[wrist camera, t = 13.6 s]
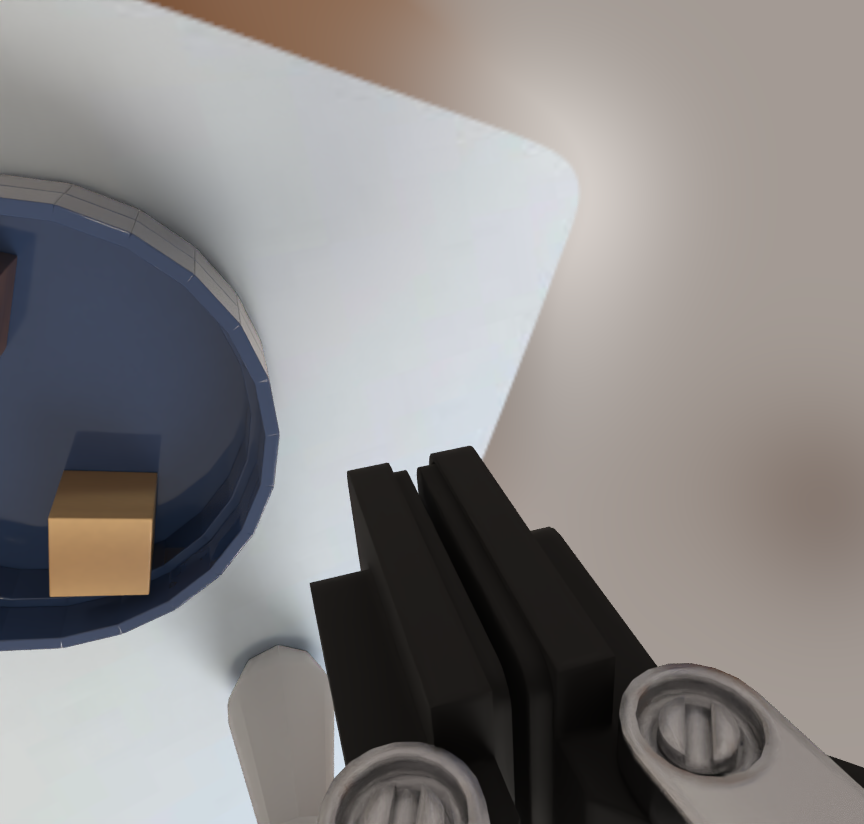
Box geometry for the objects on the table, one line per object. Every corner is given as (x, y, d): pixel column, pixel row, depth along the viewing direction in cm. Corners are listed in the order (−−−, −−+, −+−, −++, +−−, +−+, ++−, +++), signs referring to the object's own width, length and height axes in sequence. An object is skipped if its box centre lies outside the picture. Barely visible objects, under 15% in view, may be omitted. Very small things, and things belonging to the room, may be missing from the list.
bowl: (-329, 208, 26) (-433, 239, 22) (223, 147, 30) (227, 163, 26) (-109, 619, 35) (-152, 699, 31) (297, 530, 39) (309, 590, 35)
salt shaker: (217, 710, 43) (223, 946, 32) (235, 631, 41) (247, 853, 29) (317, 710, 45) (355, 931, 34) (338, 635, 43) (387, 843, 32)
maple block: (63, 469, 34) (47, 517, 30) (157, 472, 35) (152, 519, 31) (64, 543, 35) (49, 597, 32) (154, 543, 36) (149, 595, 33)
